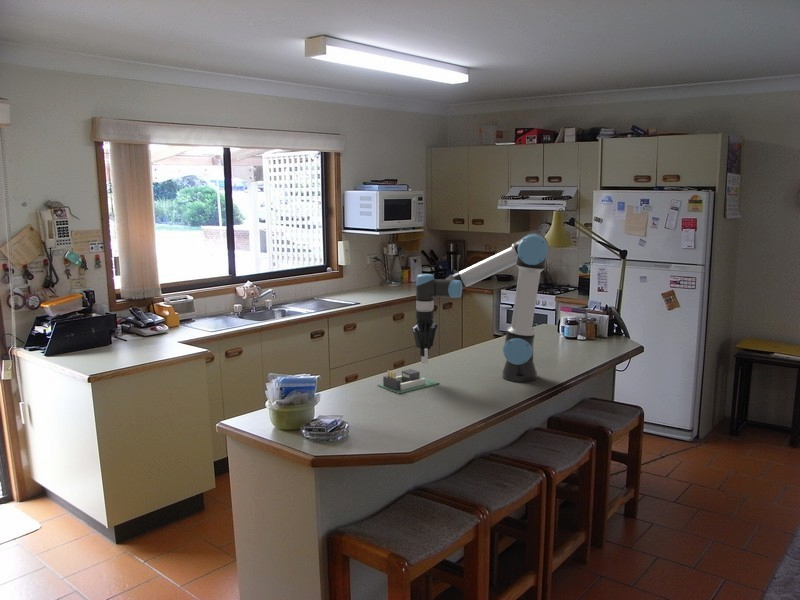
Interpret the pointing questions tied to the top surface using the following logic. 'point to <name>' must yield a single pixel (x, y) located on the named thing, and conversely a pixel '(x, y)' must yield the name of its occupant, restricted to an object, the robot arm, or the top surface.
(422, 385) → the header board
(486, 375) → the top surface
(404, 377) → the plug
